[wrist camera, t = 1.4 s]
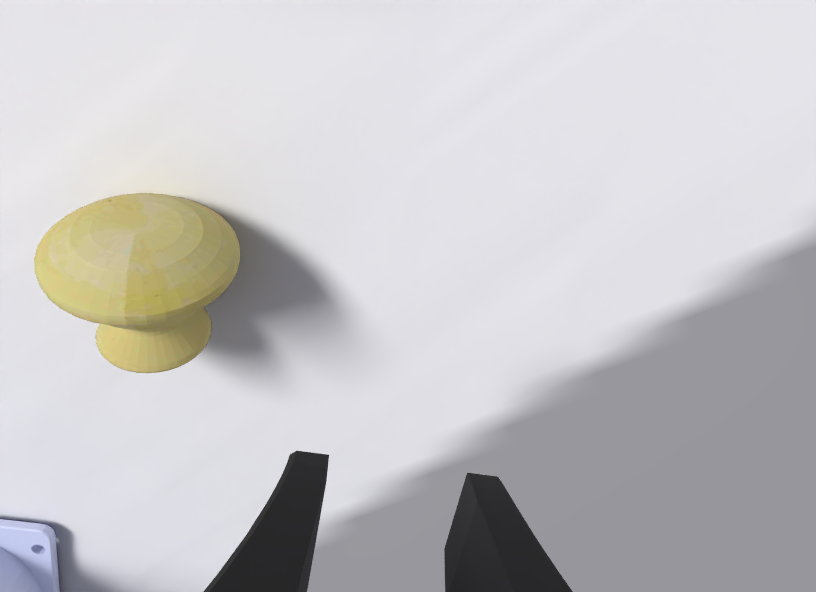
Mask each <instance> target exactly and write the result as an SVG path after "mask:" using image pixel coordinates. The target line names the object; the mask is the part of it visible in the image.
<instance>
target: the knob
mask: <svg viewBox="0 0 816 592" xmlns="http://www.w3.org/2000/svg"><path fill="white" fill-rule="evenodd" d="M34 261H35V274H36V276H37V279H38V282H39V285H40V287H41V289H42V290H43V291H44V293H45V294H46V295H47V297H48V298H49V299H50V300H51V301H52V302H53V303H55V304H56V305H57V306H58V307H59V308H61V309H63V310H64V311H66V312H68V313H70V314H72V315H74V316H76V317H79V318H82V319H85V320H88V321H91V322H95V323H99V326H98V328H97V332H96V344H97V347H98V349H99V351H100V353H101V354H102V355H103V357H104V358H105V359H107V360H108V361H109V362H110V363H111V364H113V365H115V366H117V367H119V368H121V369H124V370H127V371H132V372H137V373H156V372H162V371H167V370H171V369H174V368H177V367H179V366H181V365H183V364H185V363H187V362H189V361H190V360H192V359H193V358H195V357H196V356H197V355H198V354H199V353H200V352H201V351H202V350H203V349H204V347H205V346H206V345H207V343H208V341H209V338H210V336H211V331H212V323H211V320H210V317H209V315H208V313H207V312H206V310H205V309H204V308H203V307H205V306H206V305H208V304H210V303H211V302H213V301H214V300H215V299H216V298H217V297H218V296H220V295H221V294H222V293H223V292H224V291H225V290H226V289H227V287H228V286H229V285H230V284H231V282H232V281H233V279H234V277H235V275H236V273H237V271H238V267H239V262H240V246H239V241H238V239H237V236H236V233H235V231H234V230H233V229H232V227H231V226H230V224H229V223H228V222H227V221H226V220H225V219H224V218H223V217H221V216H220V215H219V214H217V213H216V212H214V211H213V210H211V209H209V208H207V207H205V206H203V205H201V204H198V203H196V202H193V201H190V200H187V199H184V198H180V197H174V196H169V195H164V194H153V193H136V194H126V195H120V196H114V197H110V198H106V199H103V200H100V201H96V202H94V203H91V204H89V205H86V206H84V207H82V208H79V209H77V210H76V211H74V212H72V213H70V214H69V215H67V216H65V217H64V218H63V219H61V220H60V221H59V222H58V223H56V224H55V225H54V226H52V228H51V229H50V230H49V231H48V232H47V233H46V234H45V235H44V236H43V238H42V240H41V242H40V243H39V245H38V247H37V250H36V254H35V258H34Z"/></svg>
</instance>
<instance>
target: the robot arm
mask: <svg viewBox="0 0 816 592" xmlns="http://www.w3.org/2000/svg"><path fill="white" fill-rule="evenodd" d="M328 459H329V455H325V454H318V453H310V452H302V451H296V452H294V453H292V454H290V456H289V459H288V462H287V465H286V467H285V469H284V472H283V474H282V476H281V478H280V480H279V482H278V484H277V486H276V488H275V489H274V491H273V493H272V495H271V497H270V498H269V500H268V502H267V504H266V505H265V507H264V508H263V510H262V511H261V513H260V515H259V516H258V518H257V519H256V521H255V522H254V524H253V526H252V527H251V529H250V530H249V532H248V533H247V535H246V536H245V538H244V539H243V540H242V542H241V543H240V545H239V546H238V547H237V549H236V550H235V551H234V553H233V554H232V555H231V557H230V558H229V560H228V561H227V562H226V564H225V565H224V566H223V568H222V569H221V570H220V572H219V573H218V574H217V576H216V577H215V578H214V579H213V581H212V582H211V583H210V584H209V586H208V587H207V588H206V589H205V591H204V592H307V588H308V582H309V576H310V571H311V565H312V559H313V554H314V548H315V543H316V537H317V531H318V525H319V520H320V514H321V508H322V503H323V497H324V491H325V485H326V478H327V469H328ZM0 592H60V590H59V577H58V563H57V549H56V535H55V532H54V530H53V529H52V528H51V527H49V526H48V525H45V524H39V523H30V522H21V521H12V520H3V519H0ZM445 592H572V590H571V589H570V587H569V586H568V585H567V583H566V582H565V580H564V579H563V578H562V576H561V575H560V573H559V572H558V570H557V569H556V567H555V566H554V564H553V563H552V561H551V560H550V558H549V557H548V556H547V554H546V553H545V551H544V550H543V548H542V547H541V545H540V544H539V542H538V540H537V539H536V538H535V536H534V534H533V533H532V531H531V529H530V528H529V526H528V525H527V523H526V521H525V520H524V518H523V517H522V515H521V513H520V512H519V510H518V509H517V507H516V505H515V503H514V502H513V500H512V498H511V497H510V495H509V493H508V492H507V490H506V489H505V487H504V485H503V484H502V482H501V481H500V479H499V478H498V477H496V476H487V475H479V474H472V473H467V475H466V479H465V482H464V486H463V489H462V492H461V496H460V499H459V503H458V505H457V510H456V512H455V515H454V519H453V522H452V526H451V529H450V532H449V535H448V539H447V542H446V545H445Z"/></svg>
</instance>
